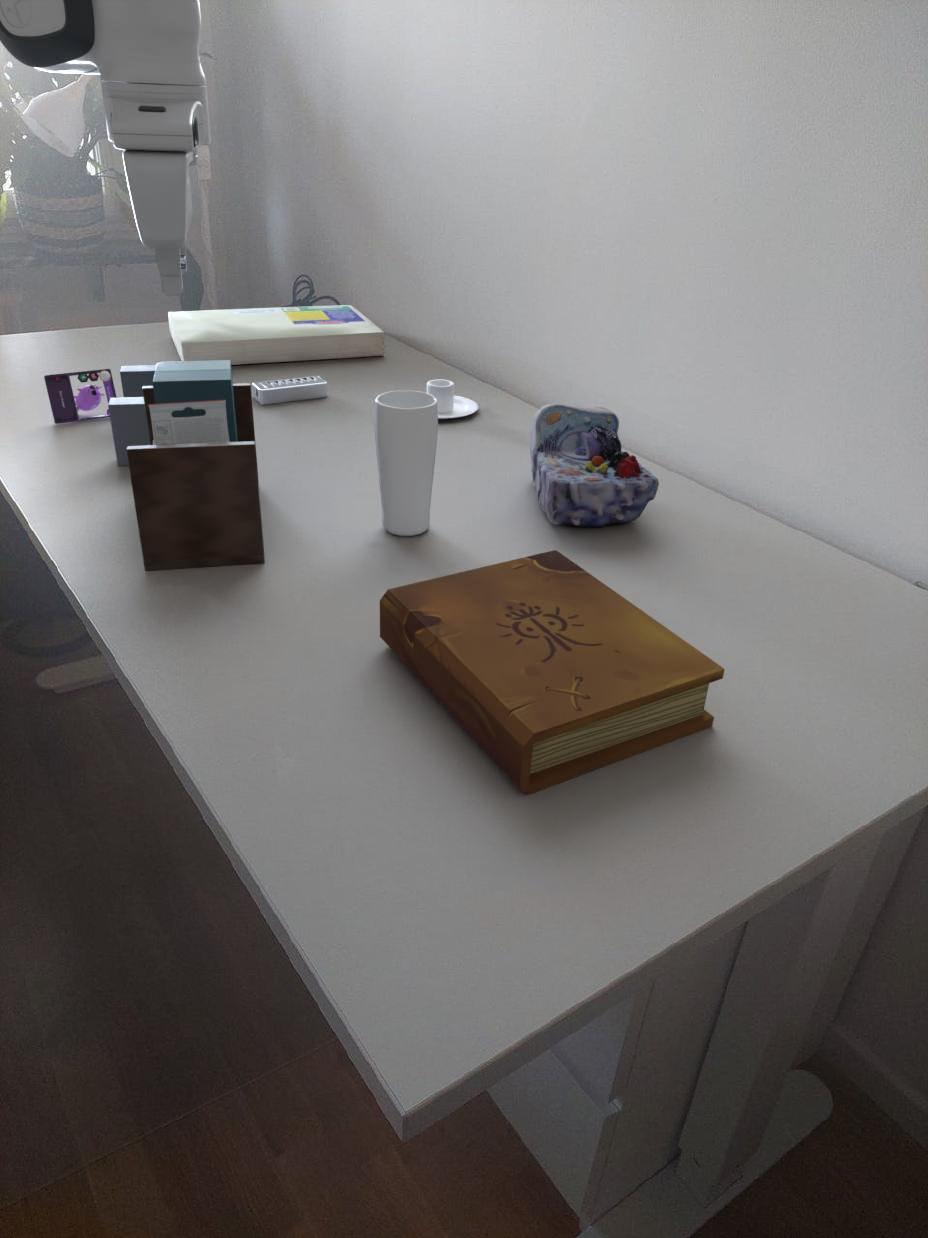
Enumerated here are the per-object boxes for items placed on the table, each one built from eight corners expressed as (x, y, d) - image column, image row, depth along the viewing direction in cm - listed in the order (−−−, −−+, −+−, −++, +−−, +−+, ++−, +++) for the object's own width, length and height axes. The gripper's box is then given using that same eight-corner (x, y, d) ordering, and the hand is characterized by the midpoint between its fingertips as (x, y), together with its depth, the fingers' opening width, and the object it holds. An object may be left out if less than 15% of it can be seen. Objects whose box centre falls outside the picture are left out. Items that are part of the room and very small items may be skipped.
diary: (380, 647, 84) (379, 591, 81) (550, 602, 93) (555, 549, 90) (519, 798, 67) (524, 734, 64) (712, 726, 76) (725, 666, 73)
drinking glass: (396, 546, 102) (396, 412, 95) (365, 524, 107) (362, 395, 99) (447, 532, 106) (451, 402, 98) (414, 511, 110) (415, 386, 103)
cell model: (607, 390, 118) (676, 447, 102) (597, 469, 124) (661, 536, 108) (509, 393, 115) (564, 453, 99) (503, 475, 121) (554, 544, 105)
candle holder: (384, 407, 144) (384, 379, 142) (443, 394, 151) (444, 367, 149) (434, 428, 137) (434, 399, 135) (493, 413, 144) (495, 385, 142)
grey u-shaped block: (117, 465, 120) (108, 404, 116) (130, 420, 135) (121, 365, 131) (174, 463, 121) (166, 402, 117) (180, 419, 136) (173, 364, 132)
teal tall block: (170, 513, 105) (152, 381, 98) (173, 486, 112) (157, 361, 104) (242, 509, 107) (230, 379, 99) (241, 483, 114) (230, 359, 106)
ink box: (163, 524, 103) (145, 393, 95) (237, 517, 105) (224, 389, 97) (164, 538, 100) (145, 404, 92) (240, 531, 102) (228, 399, 94)
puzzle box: (169, 336, 178) (182, 368, 159) (166, 311, 176) (178, 341, 156) (354, 327, 189) (387, 357, 170) (354, 304, 187) (387, 331, 168)
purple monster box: (44, 374, 130) (111, 367, 134) (40, 378, 135) (105, 371, 139) (55, 423, 132) (121, 415, 136) (51, 425, 136) (115, 417, 140)
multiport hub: (328, 396, 148) (327, 382, 147) (261, 404, 143) (260, 389, 142) (318, 389, 151) (317, 375, 150) (252, 396, 147) (251, 382, 146)
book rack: (144, 571, 95) (126, 449, 89) (157, 492, 113) (142, 385, 106) (264, 563, 98) (255, 444, 91) (259, 487, 115) (250, 382, 109)
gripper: (131, 113, 91) (149, 263, 98) (108, 126, 74) (132, 306, 81) (198, 116, 92) (211, 264, 99) (191, 129, 75) (207, 306, 82)
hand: (175, 283), depth 90 cm, fingers open, 8 cm apart
